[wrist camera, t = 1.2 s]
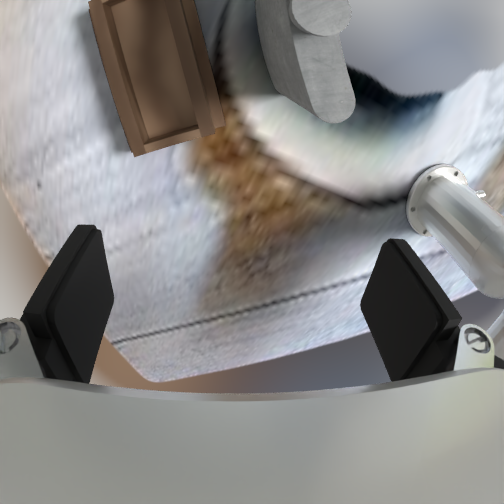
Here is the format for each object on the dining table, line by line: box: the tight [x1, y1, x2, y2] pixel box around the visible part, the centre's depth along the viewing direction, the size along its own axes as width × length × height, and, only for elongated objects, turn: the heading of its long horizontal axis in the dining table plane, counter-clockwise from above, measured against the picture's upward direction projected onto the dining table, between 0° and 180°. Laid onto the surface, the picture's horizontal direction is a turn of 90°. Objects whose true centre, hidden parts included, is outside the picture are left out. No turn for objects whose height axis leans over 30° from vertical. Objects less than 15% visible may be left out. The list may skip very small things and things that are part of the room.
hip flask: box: [255, 0, 355, 123], centre depth 22 cm, size 16×4×20 cm, turn 10°
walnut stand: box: [88, 0, 226, 157], centre depth 29 cm, size 12×20×4 cm, turn 12°
